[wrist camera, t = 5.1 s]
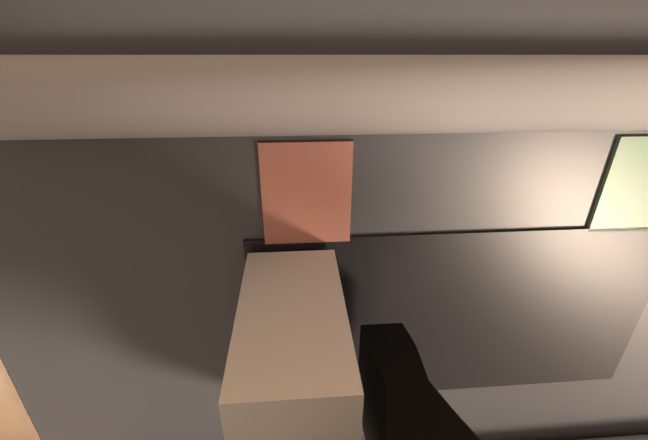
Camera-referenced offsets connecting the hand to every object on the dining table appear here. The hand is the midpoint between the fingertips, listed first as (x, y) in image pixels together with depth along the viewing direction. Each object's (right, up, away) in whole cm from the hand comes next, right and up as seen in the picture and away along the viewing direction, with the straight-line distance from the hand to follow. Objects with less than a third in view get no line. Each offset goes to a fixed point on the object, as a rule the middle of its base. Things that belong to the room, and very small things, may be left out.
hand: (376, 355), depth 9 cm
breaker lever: (-2, 0, +1) cm, 2 cm away
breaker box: (+2, +2, +4) cm, 5 cm away
